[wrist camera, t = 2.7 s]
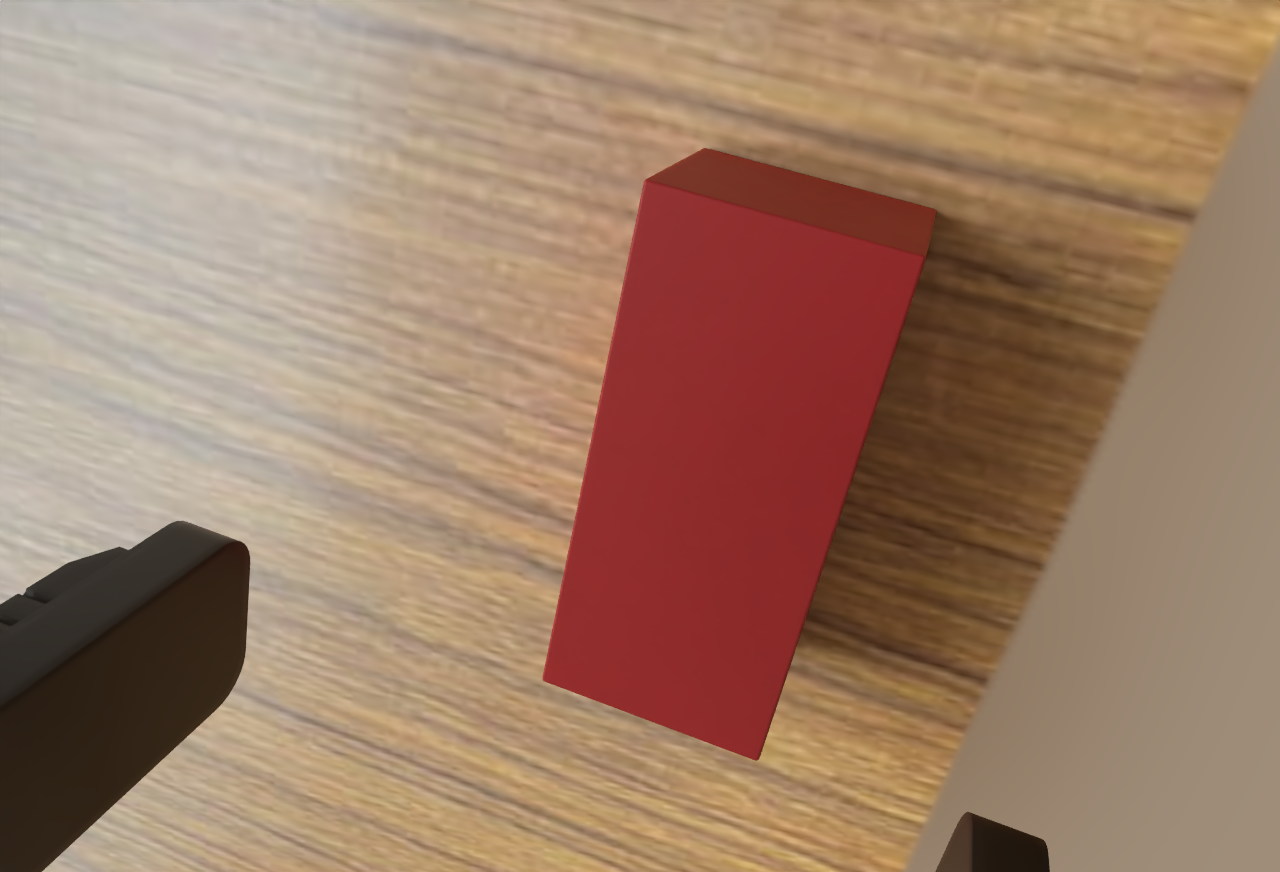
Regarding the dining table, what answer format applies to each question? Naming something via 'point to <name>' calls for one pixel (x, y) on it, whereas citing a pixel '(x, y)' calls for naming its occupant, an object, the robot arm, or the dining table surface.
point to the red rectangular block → (728, 437)
